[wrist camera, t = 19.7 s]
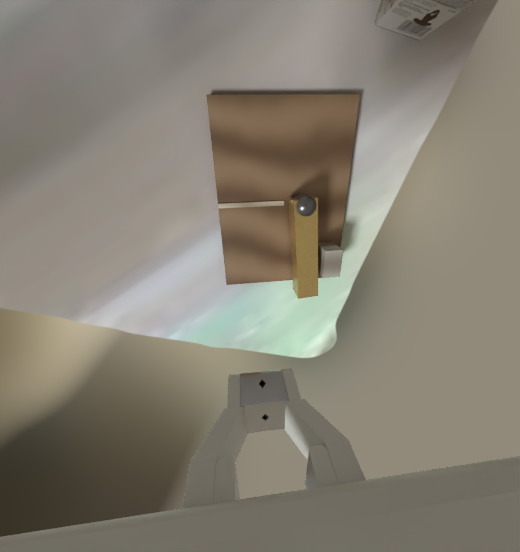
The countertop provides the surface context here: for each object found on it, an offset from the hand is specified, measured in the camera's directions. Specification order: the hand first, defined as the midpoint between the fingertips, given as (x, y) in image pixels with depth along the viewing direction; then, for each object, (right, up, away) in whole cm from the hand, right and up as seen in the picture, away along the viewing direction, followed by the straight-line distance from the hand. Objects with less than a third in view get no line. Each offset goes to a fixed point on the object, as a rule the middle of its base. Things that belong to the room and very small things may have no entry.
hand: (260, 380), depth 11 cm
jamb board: (+3, +16, +21) cm, 26 cm away
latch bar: (+6, +10, +23) cm, 25 cm away
